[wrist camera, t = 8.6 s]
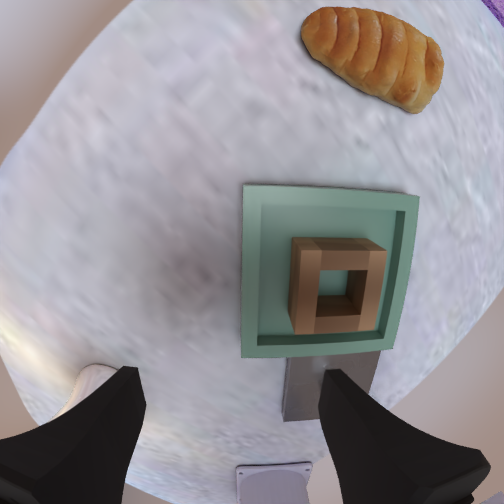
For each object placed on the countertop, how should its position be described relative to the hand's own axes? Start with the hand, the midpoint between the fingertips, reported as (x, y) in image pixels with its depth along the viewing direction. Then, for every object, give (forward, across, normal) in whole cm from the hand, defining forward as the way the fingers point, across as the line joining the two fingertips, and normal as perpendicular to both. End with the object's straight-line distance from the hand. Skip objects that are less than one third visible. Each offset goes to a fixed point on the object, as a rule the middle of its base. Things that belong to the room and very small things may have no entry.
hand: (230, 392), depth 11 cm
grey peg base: (+10, -8, +8) cm, 15 cm away
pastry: (+10, -9, -16) cm, 21 cm away
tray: (+10, -6, -2) cm, 12 cm away
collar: (+9, -6, -1) cm, 11 cm away
